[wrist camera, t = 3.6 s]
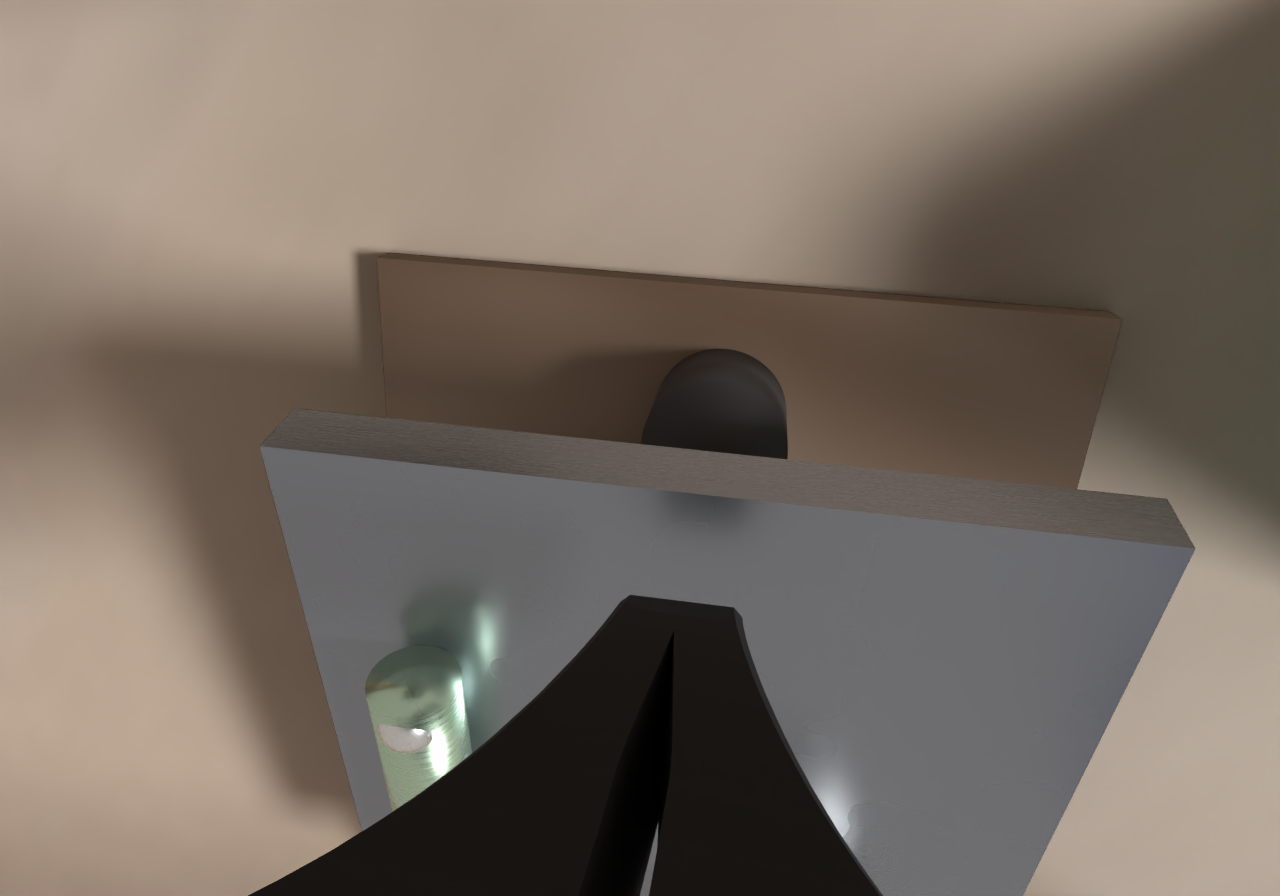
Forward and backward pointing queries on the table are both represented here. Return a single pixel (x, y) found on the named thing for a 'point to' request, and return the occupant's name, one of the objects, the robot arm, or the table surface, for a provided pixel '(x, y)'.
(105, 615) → the table surface
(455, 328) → the stand base
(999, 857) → the level plate
